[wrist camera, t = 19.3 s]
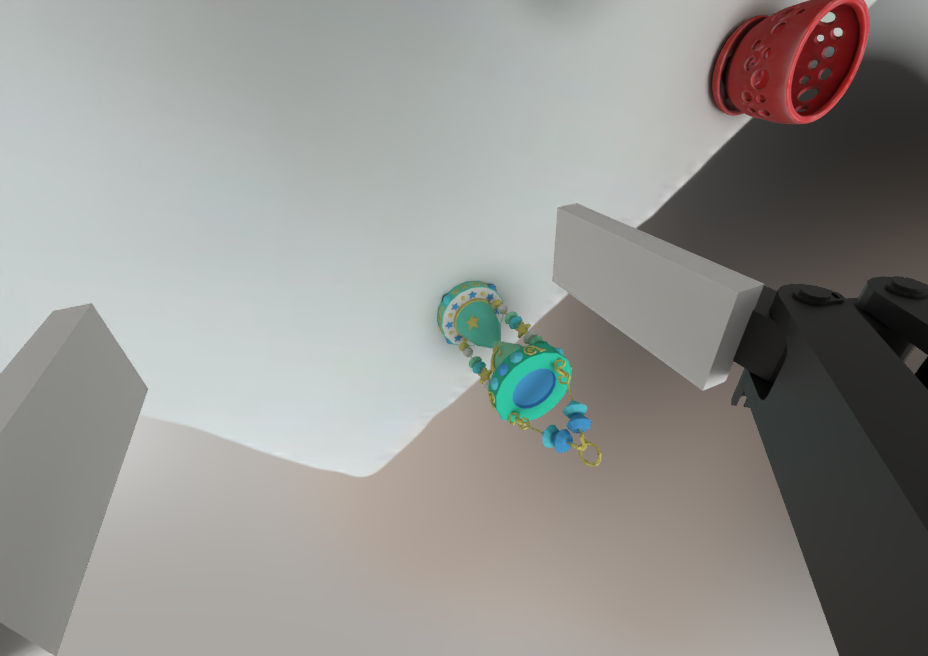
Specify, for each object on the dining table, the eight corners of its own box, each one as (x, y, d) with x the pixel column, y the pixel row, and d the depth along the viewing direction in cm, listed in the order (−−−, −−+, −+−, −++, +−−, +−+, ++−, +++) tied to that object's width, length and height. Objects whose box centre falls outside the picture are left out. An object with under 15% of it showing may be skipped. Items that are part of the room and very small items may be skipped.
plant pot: (777, 76, 61) (869, 78, 52) (709, 135, 62) (788, 148, 53) (772, -20, 53) (881, -38, 44) (694, 49, 54) (785, 46, 44)
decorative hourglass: (465, 264, 56) (610, 403, 33) (514, 299, 63) (664, 435, 40) (418, 325, 58) (524, 497, 35) (470, 353, 65) (589, 513, 42)
